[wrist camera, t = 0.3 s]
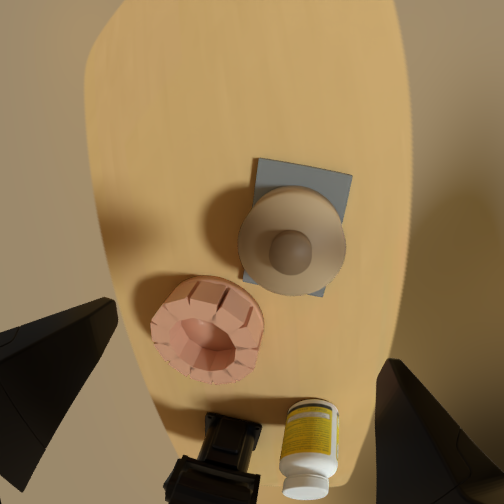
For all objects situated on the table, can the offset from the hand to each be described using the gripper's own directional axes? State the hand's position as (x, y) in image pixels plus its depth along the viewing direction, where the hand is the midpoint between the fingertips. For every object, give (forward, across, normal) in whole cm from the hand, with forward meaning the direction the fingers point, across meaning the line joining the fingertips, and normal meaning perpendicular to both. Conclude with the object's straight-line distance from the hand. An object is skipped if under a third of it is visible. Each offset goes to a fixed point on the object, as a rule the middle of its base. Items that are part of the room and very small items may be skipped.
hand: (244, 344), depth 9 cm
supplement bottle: (+13, -7, +20) cm, 25 cm away
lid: (+12, -1, +1) cm, 12 cm away
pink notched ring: (+13, +4, +10) cm, 16 cm away
